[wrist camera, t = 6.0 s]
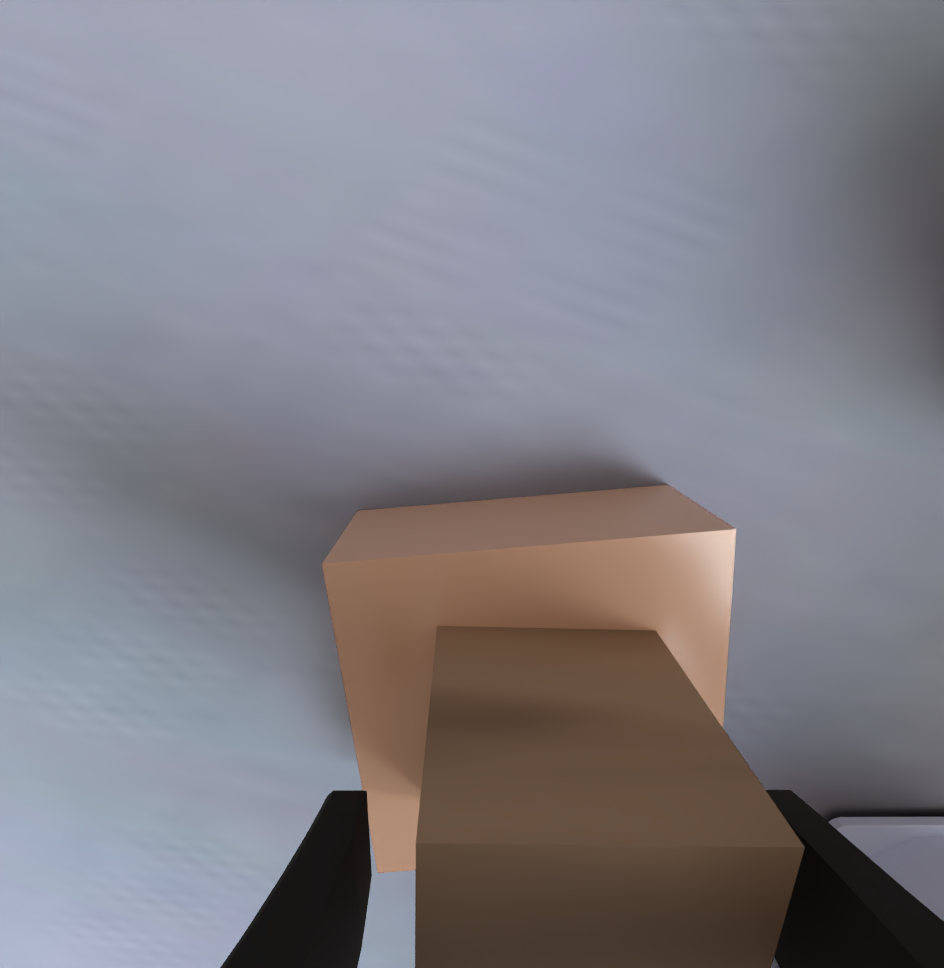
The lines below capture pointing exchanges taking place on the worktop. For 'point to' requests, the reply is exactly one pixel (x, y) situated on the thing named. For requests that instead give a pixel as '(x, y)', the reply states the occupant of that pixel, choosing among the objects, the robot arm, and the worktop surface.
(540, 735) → the walnut cube
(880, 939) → the robot arm
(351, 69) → the worktop surface
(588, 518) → the terracotta block
